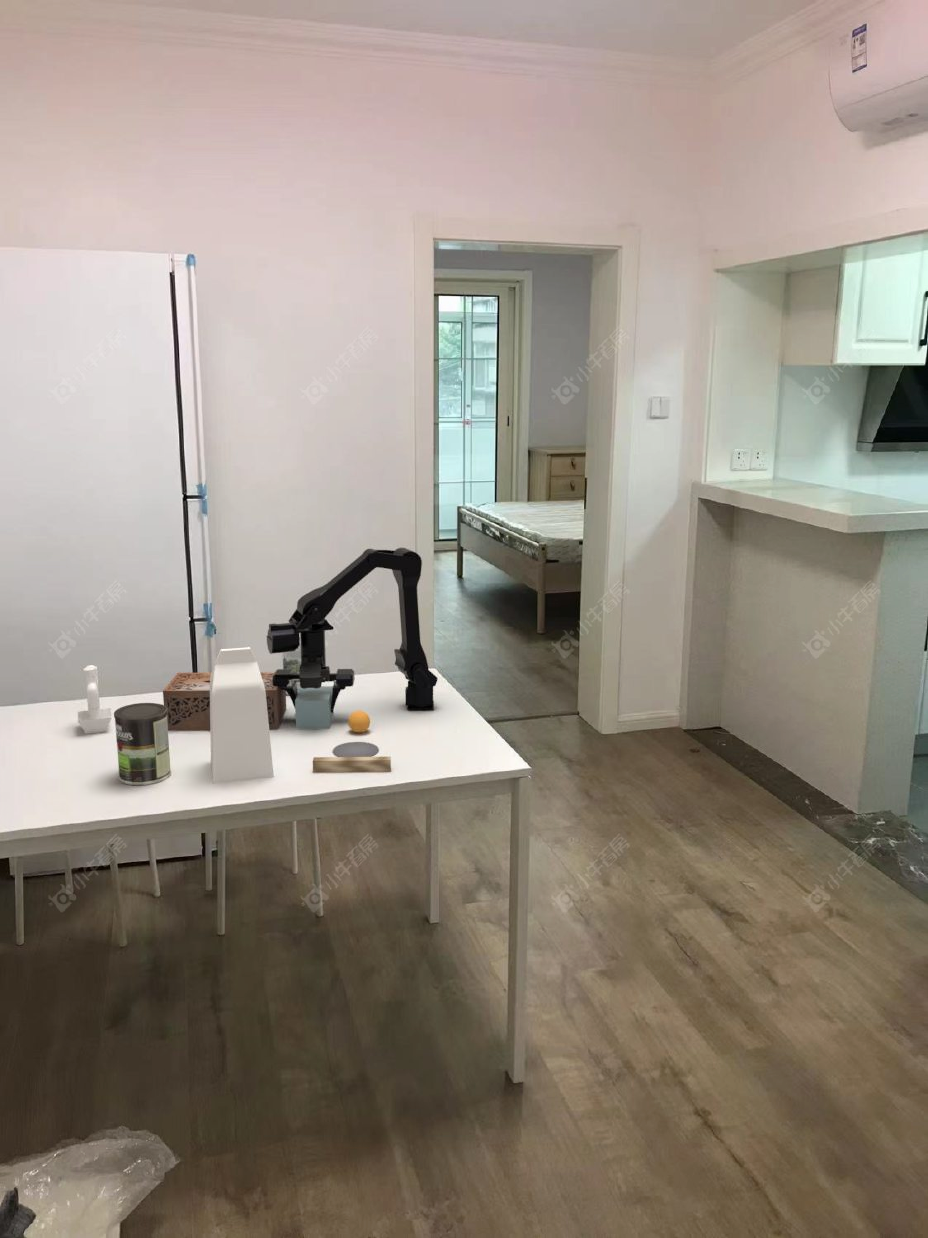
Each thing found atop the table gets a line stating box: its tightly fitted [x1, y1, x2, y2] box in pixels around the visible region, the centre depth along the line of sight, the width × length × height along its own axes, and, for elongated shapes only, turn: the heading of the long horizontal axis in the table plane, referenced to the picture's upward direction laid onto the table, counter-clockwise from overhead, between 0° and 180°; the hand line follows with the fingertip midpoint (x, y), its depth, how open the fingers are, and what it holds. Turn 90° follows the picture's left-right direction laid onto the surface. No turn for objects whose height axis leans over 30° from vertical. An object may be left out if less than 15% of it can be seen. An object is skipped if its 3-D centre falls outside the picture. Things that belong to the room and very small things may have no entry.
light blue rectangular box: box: [294, 685, 334, 730], centre depth 237 cm, size 8×11×7 cm
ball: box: [347, 710, 371, 734], centre depth 229 cm, size 5×5×5 cm
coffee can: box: [113, 702, 172, 786], centre depth 203 cm, size 10×10×14 cm
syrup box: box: [282, 643, 301, 696], centre depth 257 cm, size 6×6×14 cm
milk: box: [210, 646, 274, 784], centre depth 205 cm, size 12×12×26 cm
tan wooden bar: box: [312, 756, 392, 773], centre depth 207 cm, size 16×2×2 cm, turn 92°
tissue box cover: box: [162, 671, 287, 732], centre depth 237 cm, size 26×14×10 cm, turn 92°
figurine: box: [77, 664, 112, 735], centre depth 229 cm, size 7×9×15 cm
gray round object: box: [332, 741, 380, 757], centre depth 218 cm, size 10×10×1 cm
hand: (315, 712), depth 237 cm, fingers closed on light blue rectangular box, 8 cm apart
